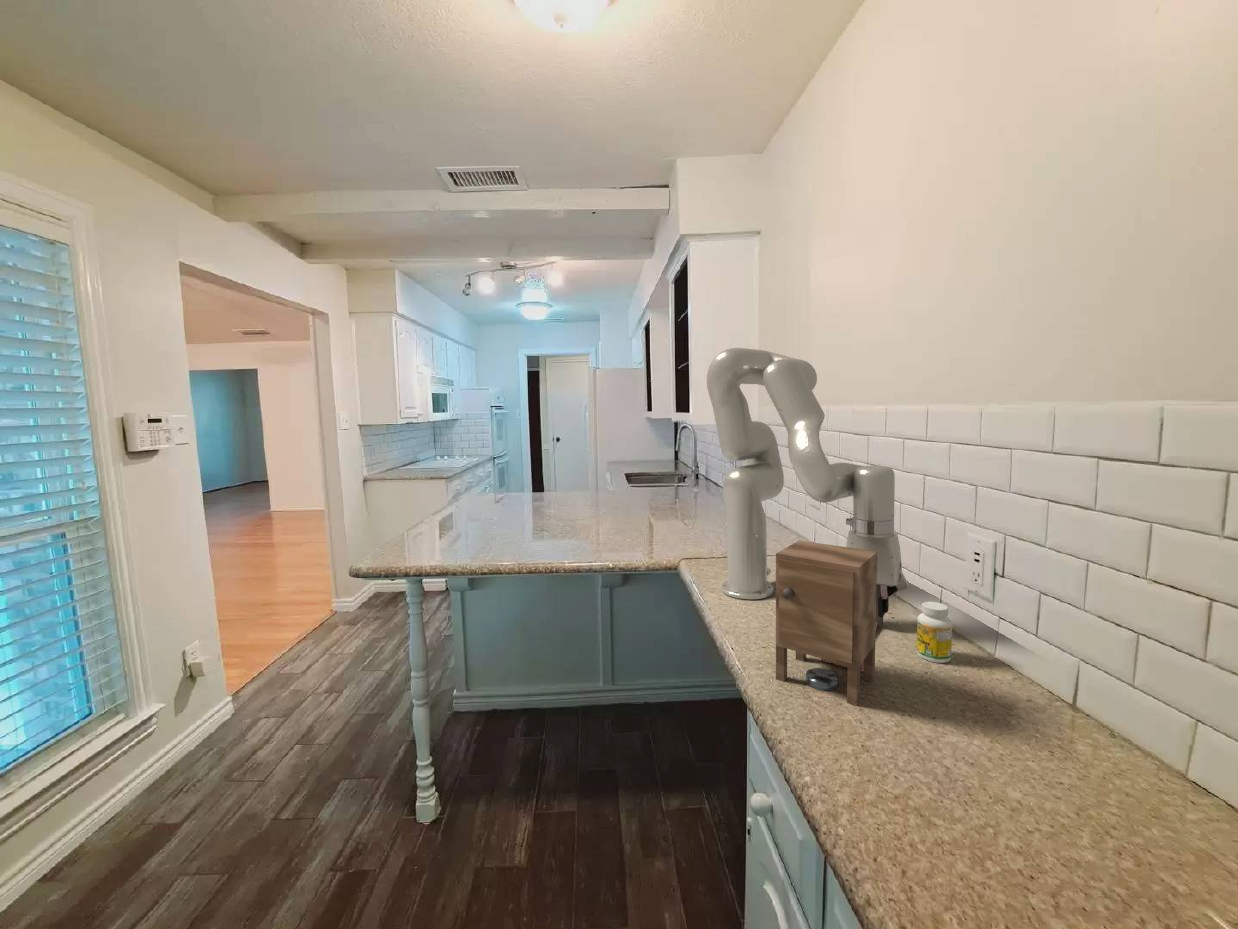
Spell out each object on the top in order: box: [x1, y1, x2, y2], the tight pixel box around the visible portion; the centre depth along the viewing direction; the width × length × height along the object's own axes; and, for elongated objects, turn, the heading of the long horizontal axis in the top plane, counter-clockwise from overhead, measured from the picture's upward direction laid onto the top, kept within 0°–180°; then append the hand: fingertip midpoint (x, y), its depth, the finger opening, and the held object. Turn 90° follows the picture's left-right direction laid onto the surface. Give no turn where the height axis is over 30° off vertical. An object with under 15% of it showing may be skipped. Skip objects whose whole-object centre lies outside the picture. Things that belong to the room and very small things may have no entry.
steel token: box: [805, 667, 839, 692], centre depth 86 cm, size 5×5×2 cm
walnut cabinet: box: [775, 540, 877, 706], centre depth 85 cm, size 12×13×22 cm
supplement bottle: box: [916, 601, 953, 664], centre depth 93 cm, size 5×5×10 cm
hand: (872, 612), depth 106 cm, fingers closed on rake, 2 cm apart
